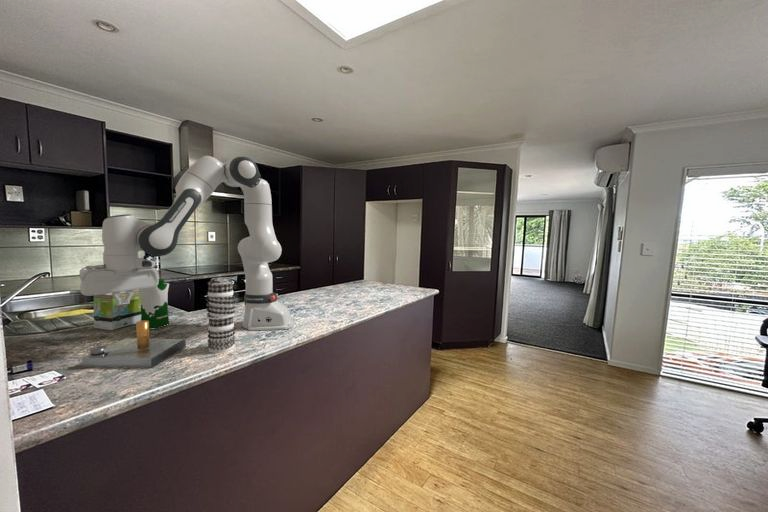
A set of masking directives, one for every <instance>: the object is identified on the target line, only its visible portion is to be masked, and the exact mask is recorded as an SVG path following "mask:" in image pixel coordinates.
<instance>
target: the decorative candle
mask: <svg viewBox="0 0 768 512" xmlns="http://www.w3.org/2000/svg"><path fill="white" fill-rule="evenodd" d="M233 283H234V281H233V280H232V279H231V278H229V277H225V276H222V277H219V276H218V277H214V278H211V279H210V281H209V282H207V285H208V289H207V290H208V291H207V295H206V297H205V301H206V302H207V303H206V305H205V306H206V308H205V309H206V311H207V314H206V317H207V318H208V330H207V338H208V339H207V343H208V344H207V347H208V348H207V351H208V352H210V353H214V354H218V353H225V352H228V351H231V350H234V348H235V347H236V345H235V344H236V340H235V339H236V336H235V334H236V331H235V330H236V327H234V326H235V322H234V316H235V313H236V311H235V310H234V309H235V308H236V306H235V305H234V304H235V303H236V301H235V299H236V296H234V290H233V287H234V285H233Z"/></svg>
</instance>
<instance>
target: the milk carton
mask: <svg viewBox="0 0 768 512" xmlns="http://www.w3.org/2000/svg"><path fill="white" fill-rule="evenodd" d="M158 279H159V284H158V285H157V287H153V288H145V289H139V292H140V296H141V321H144V320H148V321H149V328H155V329H154V330H157V329H156V328H158V327H160V328H162V327H161V326H163V327H165V326H164V325H166V326H168V325H167V324H169V325H170V319H169V318H170V317H169V303H168V301H169V300H168V293H169V287H170V283H167V282H166V283H165V279H163V278H162V279H161V278H158ZM158 329H159V328H158Z"/></svg>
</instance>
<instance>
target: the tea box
mask: <svg viewBox="0 0 768 512" xmlns="http://www.w3.org/2000/svg"><path fill="white" fill-rule="evenodd" d="M126 295H127V293H126V292H125V291H123V292H120V295H118V296H119V297H120V299H124V298H125V297H126ZM138 321H141V296H140V292H139V289H138V290H133V295H132V296H131V298H130V304H125V305H117V300H116V299H115V298H114V297H113V296H112V293H108V294H100V295H93V327H94V329H99V330H107V331H115V330H117V329H121V328H124V327H128V326H132V325H134V324H135V325H136V322H138Z"/></svg>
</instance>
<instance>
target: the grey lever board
mask: <svg viewBox="0 0 768 512" xmlns="http://www.w3.org/2000/svg"><path fill="white" fill-rule="evenodd" d="M149 339H150V347H149V348H146V349H129V350H121V351H112V352H105V353H103V354H99V355H90V353H89V354H87V355H84V356H82V360H81V361H82V368H129V369H131V368H137V369H138V368H141V369H143V368H145V369H146V368H149V369H150V368H154V367H156V366H157V365H159V364H160V363H162V362H164V361H165V360H166V359H169V358H170V357H172V356H173V355H175V354H177V353H178V352H180V351H181V350H183V349H185V348H187V347H186V346H187V340H186V339H185V338H180V339H179V338H149ZM130 344H137V338H124V339H121V340H119V341H117V342H115V343H113V344H110V345H107V346H106V347H112V346H121V345H130Z"/></svg>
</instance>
